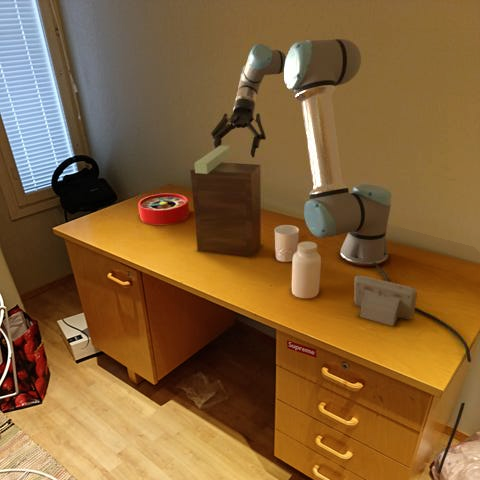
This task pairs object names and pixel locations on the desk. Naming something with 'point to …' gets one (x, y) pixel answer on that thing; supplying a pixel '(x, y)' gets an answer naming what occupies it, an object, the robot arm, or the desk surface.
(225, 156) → the pencil tin
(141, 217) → the toy clock
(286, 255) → the white cup
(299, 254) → the pill bottle
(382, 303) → the digital clock
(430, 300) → the desk surface
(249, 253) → the shelf stand
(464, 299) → the desk surface
